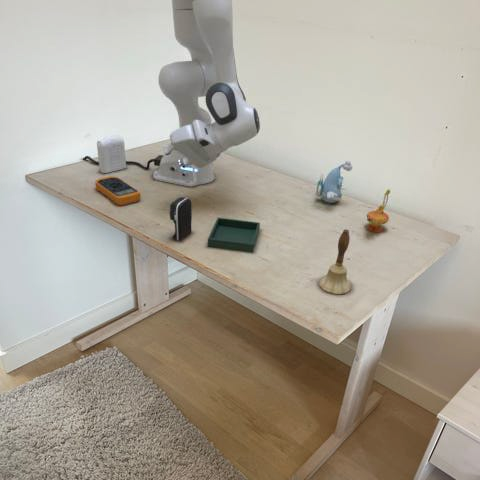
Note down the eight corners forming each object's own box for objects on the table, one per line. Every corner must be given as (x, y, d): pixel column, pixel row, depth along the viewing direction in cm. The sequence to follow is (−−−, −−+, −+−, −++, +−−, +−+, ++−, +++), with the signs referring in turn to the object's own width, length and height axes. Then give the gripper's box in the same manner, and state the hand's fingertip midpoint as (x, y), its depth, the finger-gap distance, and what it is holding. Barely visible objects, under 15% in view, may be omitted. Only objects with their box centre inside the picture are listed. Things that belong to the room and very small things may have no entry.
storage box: (207, 246, 143) (207, 238, 141) (217, 225, 154) (217, 217, 153) (253, 252, 142) (253, 244, 140) (259, 230, 153) (260, 222, 151)
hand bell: (316, 276, 133) (326, 222, 123) (346, 277, 134) (358, 223, 124) (322, 294, 126) (332, 238, 117) (353, 294, 127) (367, 239, 117)
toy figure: (344, 213, 166) (353, 170, 157) (313, 209, 167) (319, 166, 158) (346, 194, 179) (354, 153, 170) (317, 190, 180) (323, 149, 171)
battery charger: (181, 229, 150) (180, 193, 143) (192, 232, 149) (192, 196, 142) (168, 238, 145) (167, 202, 138) (179, 242, 144) (179, 205, 137)
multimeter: (116, 183, 175) (115, 174, 173) (142, 201, 165) (141, 191, 163) (93, 188, 171) (92, 179, 169) (119, 207, 160) (118, 197, 158)
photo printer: (121, 165, 189) (118, 132, 182) (128, 168, 187) (125, 135, 180) (98, 171, 183) (93, 137, 176) (104, 174, 181) (100, 140, 174)
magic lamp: (353, 237, 152) (360, 204, 146) (372, 217, 165) (379, 185, 158) (374, 244, 150) (383, 210, 143) (392, 222, 162) (400, 190, 156)
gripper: (220, 145, 163) (183, 161, 167) (194, 116, 144) (153, 135, 148) (225, 162, 162) (188, 178, 166) (199, 136, 142) (158, 154, 147)
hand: (171, 158), depth 157 cm, fingers open, 8 cm apart
